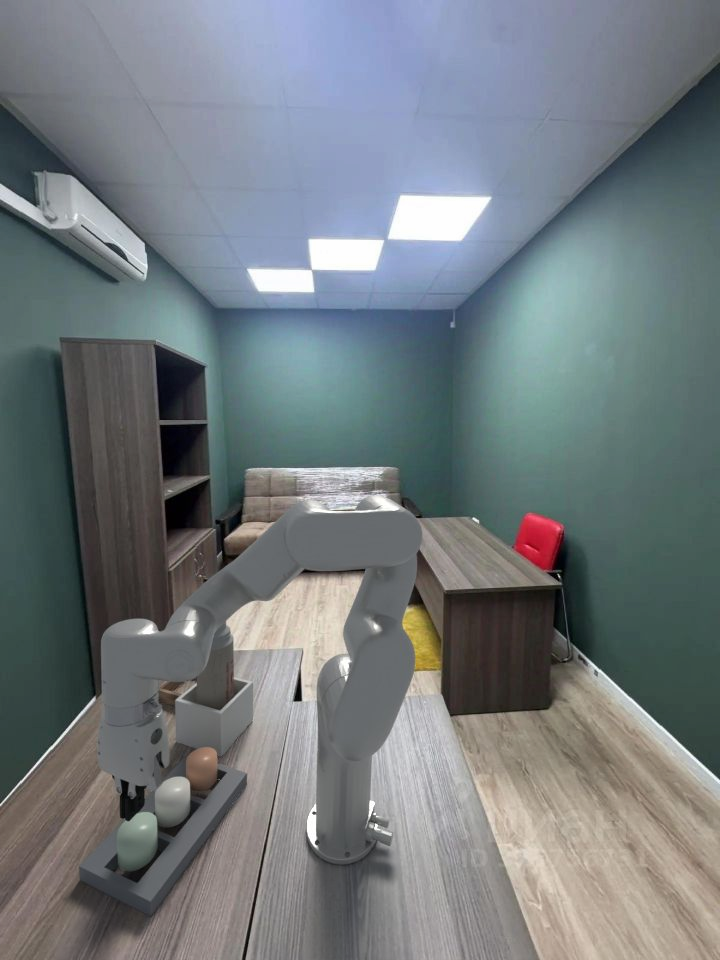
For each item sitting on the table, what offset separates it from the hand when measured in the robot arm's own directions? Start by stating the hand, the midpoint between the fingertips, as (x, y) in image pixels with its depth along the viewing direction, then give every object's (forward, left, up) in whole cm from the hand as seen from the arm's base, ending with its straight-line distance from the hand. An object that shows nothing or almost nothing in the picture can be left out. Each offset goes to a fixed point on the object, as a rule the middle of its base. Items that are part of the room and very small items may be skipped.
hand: (132, 811), depth 65 cm
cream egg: (0, -8, -7) cm, 11 cm away
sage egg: (0, 0, -7) cm, 7 cm away
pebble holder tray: (0, -8, -10) cm, 13 cm away
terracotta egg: (0, -15, -7) cm, 17 cm away
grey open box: (+8, -30, -10) cm, 32 cm away
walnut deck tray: (+22, -40, -10) cm, 46 cm away
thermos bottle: (+8, -30, -10) cm, 32 cm away
